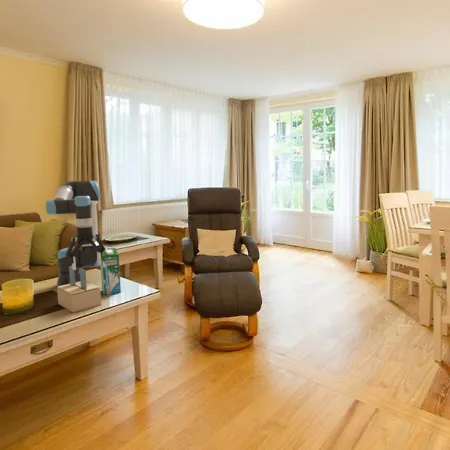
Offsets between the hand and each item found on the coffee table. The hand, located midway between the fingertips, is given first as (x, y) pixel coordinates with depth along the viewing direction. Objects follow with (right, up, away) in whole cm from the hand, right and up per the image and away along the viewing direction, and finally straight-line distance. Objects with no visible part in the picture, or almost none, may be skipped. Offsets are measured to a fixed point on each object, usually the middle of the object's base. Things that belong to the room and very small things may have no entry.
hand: (87, 267), depth 188 cm
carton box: (-5, -20, +4) cm, 21 cm away
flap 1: (-8, -12, 0) cm, 14 cm away
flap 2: (-3, -11, +5) cm, 12 cm away
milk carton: (+5, -17, +24) cm, 30 cm away
